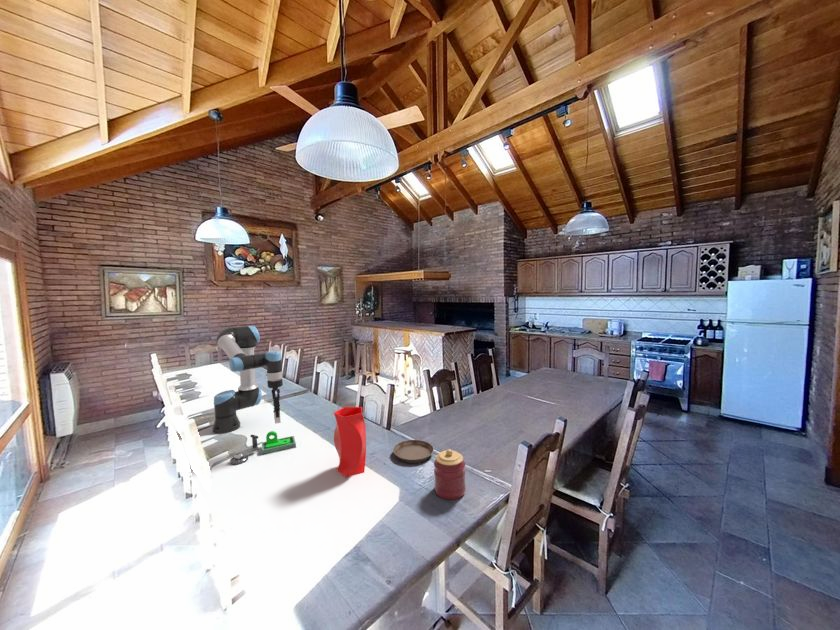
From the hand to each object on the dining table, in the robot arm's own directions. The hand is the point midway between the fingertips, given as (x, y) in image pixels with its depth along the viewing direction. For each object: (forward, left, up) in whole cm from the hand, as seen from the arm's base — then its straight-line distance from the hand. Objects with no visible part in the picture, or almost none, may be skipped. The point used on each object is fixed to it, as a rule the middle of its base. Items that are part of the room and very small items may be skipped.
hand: (277, 420), depth 177 cm
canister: (+80, +61, -15) cm, 102 cm away
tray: (0, 0, -15) cm, 15 cm away
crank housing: (+6, -19, -15) cm, 25 cm away
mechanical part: (0, 0, -15) cm, 15 cm away
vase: (+43, +29, -15) cm, 54 cm away
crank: (+4, -16, -13) cm, 21 cm away
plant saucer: (+45, +61, -15) cm, 77 cm away
